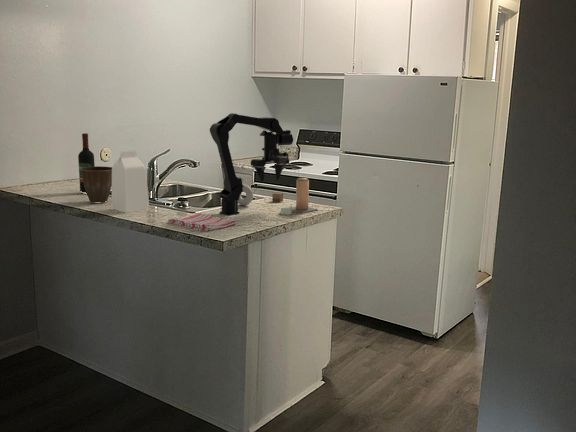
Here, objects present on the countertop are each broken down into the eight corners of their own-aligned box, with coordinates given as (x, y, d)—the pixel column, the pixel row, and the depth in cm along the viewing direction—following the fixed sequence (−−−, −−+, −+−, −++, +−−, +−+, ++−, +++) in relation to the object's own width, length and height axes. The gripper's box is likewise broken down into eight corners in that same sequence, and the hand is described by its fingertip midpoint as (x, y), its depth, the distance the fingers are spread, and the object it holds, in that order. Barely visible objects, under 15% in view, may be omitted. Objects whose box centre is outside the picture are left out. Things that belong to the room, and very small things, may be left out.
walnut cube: (280, 202, 292) (280, 194, 291) (272, 201, 293) (272, 193, 293) (283, 201, 296) (283, 193, 295) (275, 200, 297) (275, 192, 296)
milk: (126, 213, 261) (123, 153, 255) (111, 209, 268) (108, 150, 263) (149, 209, 269) (147, 151, 264) (134, 205, 277) (132, 149, 272)
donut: (254, 205, 282) (254, 184, 280) (251, 207, 279) (251, 185, 277) (236, 203, 286) (236, 182, 284) (232, 205, 283) (232, 183, 281)
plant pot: (109, 198, 294) (108, 165, 291) (119, 203, 282) (118, 169, 278) (78, 201, 286) (76, 167, 283) (87, 206, 274) (85, 171, 270)
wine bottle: (99, 192, 308) (96, 133, 302) (87, 194, 302) (83, 134, 296) (89, 191, 312) (86, 132, 306) (77, 193, 306) (73, 133, 300)
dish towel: (205, 233, 230) (205, 224, 229) (166, 223, 245) (166, 215, 244) (237, 226, 242) (237, 217, 242) (199, 217, 257) (199, 209, 257)
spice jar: (299, 210, 270) (299, 179, 268) (293, 208, 275) (294, 177, 273) (310, 209, 273) (311, 179, 270) (305, 207, 278) (305, 177, 275)
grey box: (289, 215, 264) (290, 208, 264) (280, 214, 265) (280, 208, 264) (291, 212, 270) (291, 205, 269) (282, 212, 271) (282, 205, 270)
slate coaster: (302, 213, 267) (302, 212, 267) (286, 209, 274) (286, 208, 274) (317, 210, 274) (318, 209, 274) (302, 207, 281) (302, 205, 281)
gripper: (266, 148, 257) (266, 185, 260) (298, 146, 270) (297, 181, 273) (249, 146, 265) (249, 181, 268) (281, 144, 278) (280, 178, 281)
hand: (270, 180), depth 272 cm, fingers open, 9 cm apart
